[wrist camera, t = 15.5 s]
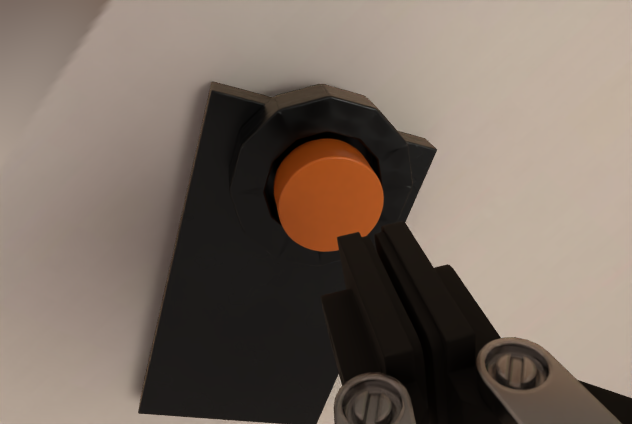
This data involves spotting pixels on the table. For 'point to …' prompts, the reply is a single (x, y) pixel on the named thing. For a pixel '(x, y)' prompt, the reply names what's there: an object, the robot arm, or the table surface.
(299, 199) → the button
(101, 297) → the table surface
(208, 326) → the button housing
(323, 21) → the table surface
